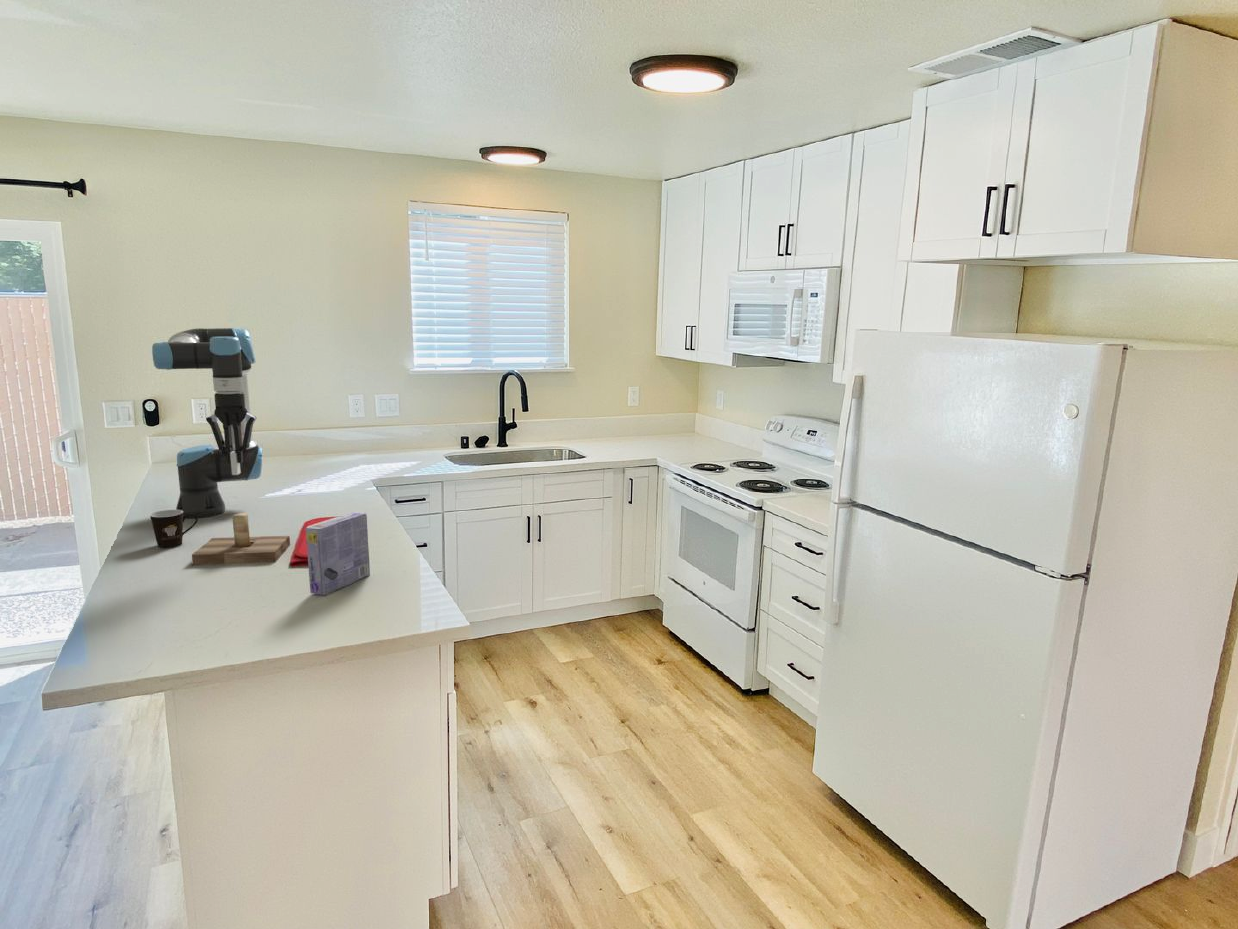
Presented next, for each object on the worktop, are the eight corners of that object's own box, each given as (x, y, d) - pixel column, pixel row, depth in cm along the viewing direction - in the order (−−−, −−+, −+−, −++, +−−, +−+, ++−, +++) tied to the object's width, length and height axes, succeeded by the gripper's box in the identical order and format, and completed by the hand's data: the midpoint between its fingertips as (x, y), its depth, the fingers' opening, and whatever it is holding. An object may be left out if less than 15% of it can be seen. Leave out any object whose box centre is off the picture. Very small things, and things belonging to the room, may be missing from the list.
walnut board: (213, 547, 226) (212, 538, 225) (290, 545, 230) (289, 535, 229) (192, 565, 211) (191, 554, 210) (275, 562, 214) (274, 552, 214)
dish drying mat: (288, 569, 210) (287, 556, 209) (302, 528, 248) (302, 517, 248) (348, 564, 215) (347, 552, 214) (353, 525, 253) (352, 514, 252)
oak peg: (238, 552, 222) (234, 513, 219) (253, 552, 222) (250, 513, 220) (233, 557, 218) (229, 517, 215) (248, 556, 218) (245, 517, 216)
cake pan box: (359, 571, 208) (356, 509, 205) (374, 573, 206) (371, 511, 203) (308, 594, 191) (303, 527, 187) (323, 597, 189) (319, 530, 185)
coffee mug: (149, 550, 222) (145, 518, 220) (158, 541, 230) (155, 510, 228) (193, 547, 225) (189, 515, 223) (200, 539, 234) (197, 508, 232)
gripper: (199, 393, 206) (207, 477, 211) (249, 393, 208) (256, 476, 213) (209, 390, 213) (216, 471, 218) (257, 390, 215) (264, 470, 220)
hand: (236, 473), depth 215 cm, fingers closed
